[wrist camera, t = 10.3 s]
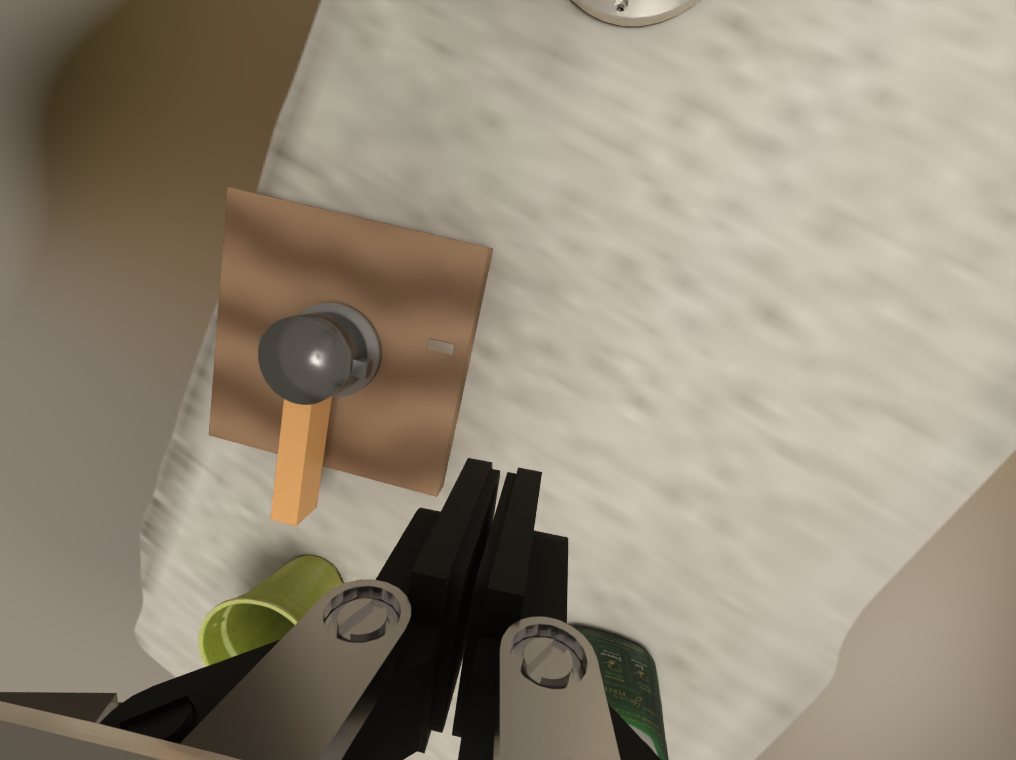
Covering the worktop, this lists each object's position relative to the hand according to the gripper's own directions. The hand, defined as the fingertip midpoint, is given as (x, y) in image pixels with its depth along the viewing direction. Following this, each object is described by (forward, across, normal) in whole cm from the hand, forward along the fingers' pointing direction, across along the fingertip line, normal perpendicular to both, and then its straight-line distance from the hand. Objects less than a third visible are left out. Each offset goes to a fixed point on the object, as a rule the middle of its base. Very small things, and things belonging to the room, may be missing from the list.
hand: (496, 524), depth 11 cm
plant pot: (+26, +18, +27) cm, 42 cm away
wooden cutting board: (+27, +16, +4) cm, 32 cm away
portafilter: (+24, +16, +9) cm, 30 cm away
